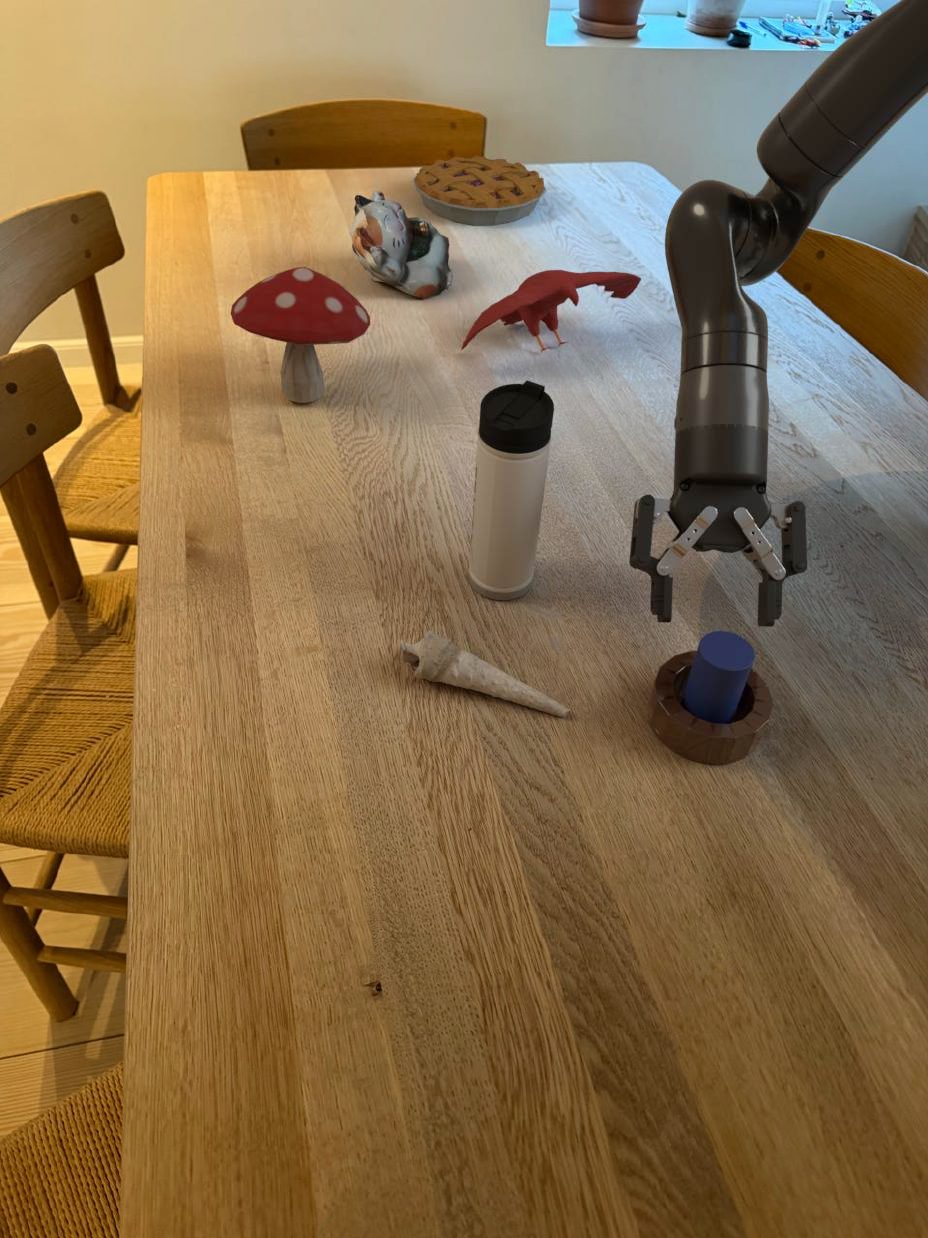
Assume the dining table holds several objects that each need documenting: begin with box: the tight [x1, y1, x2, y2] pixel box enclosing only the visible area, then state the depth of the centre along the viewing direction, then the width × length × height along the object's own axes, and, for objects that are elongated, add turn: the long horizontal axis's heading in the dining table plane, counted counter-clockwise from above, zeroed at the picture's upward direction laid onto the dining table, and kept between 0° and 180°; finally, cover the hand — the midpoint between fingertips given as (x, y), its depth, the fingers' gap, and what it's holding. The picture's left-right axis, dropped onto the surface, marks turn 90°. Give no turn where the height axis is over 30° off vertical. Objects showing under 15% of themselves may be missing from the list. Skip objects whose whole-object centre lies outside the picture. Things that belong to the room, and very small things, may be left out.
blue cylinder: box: [680, 630, 756, 724], centre depth 78 cm, size 4×4×8 cm
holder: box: [647, 650, 774, 766], centre depth 80 cm, size 10×10×4 cm
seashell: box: [398, 629, 570, 718], centre depth 81 cm, size 4×16×4 cm, turn 71°
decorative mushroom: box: [230, 266, 371, 404], centre depth 111 cm, size 16×16×15 cm
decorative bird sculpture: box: [460, 269, 642, 353], centre depth 125 cm, size 28×9×15 cm
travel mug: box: [467, 380, 555, 601], centre depth 86 cm, size 6×7×20 cm
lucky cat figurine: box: [349, 190, 454, 300], centre depth 135 cm, size 15×12×14 cm
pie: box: [412, 155, 547, 226], centre depth 160 cm, size 22×22×5 cm
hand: (715, 624), depth 79 cm, fingers open, 8 cm apart
